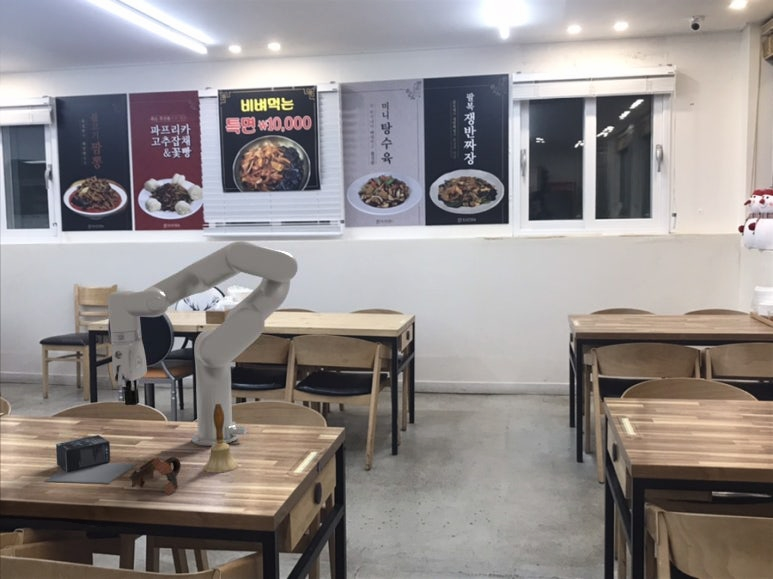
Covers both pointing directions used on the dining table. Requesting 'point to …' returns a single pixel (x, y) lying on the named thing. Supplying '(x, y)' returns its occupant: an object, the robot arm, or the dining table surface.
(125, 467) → the mat
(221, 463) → the hand bell
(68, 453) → the box
